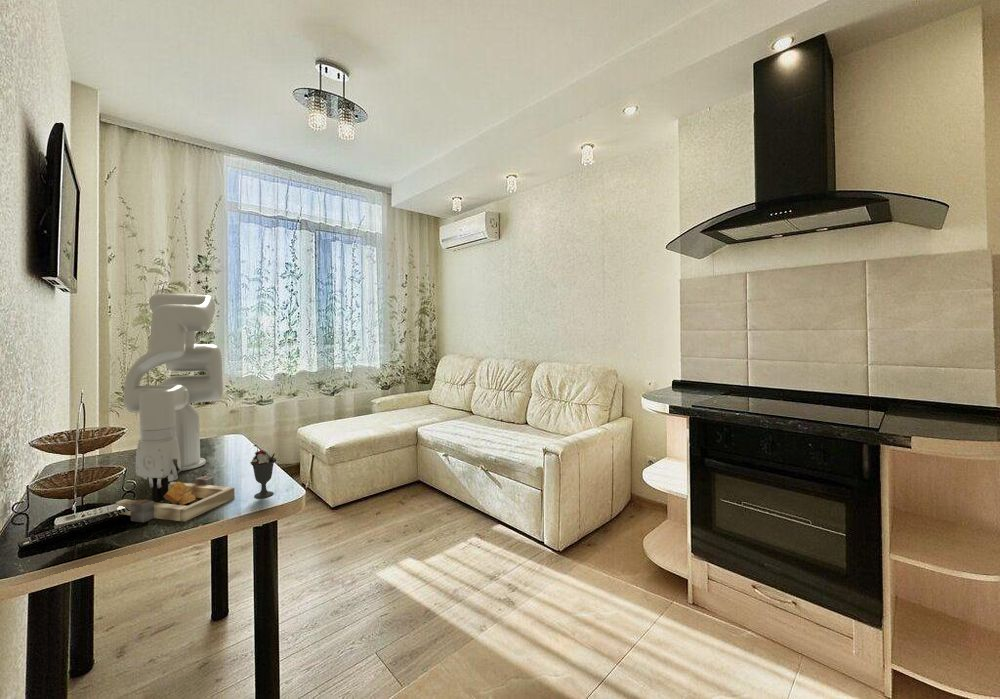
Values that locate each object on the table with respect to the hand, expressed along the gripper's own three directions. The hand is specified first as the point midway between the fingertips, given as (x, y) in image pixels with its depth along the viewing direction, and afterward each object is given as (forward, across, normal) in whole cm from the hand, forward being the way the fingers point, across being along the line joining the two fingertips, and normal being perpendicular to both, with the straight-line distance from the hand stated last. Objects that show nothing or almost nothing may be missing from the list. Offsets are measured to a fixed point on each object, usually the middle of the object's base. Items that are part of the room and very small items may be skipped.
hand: (160, 500), depth 114 cm
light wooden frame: (+1, +5, 0) cm, 5 cm away
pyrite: (+1, +5, +1) cm, 6 cm away
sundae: (+1, +23, +11) cm, 26 cm away
